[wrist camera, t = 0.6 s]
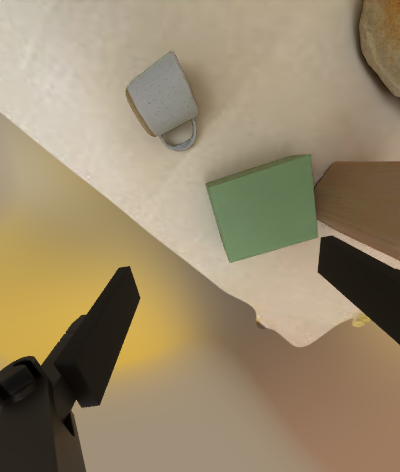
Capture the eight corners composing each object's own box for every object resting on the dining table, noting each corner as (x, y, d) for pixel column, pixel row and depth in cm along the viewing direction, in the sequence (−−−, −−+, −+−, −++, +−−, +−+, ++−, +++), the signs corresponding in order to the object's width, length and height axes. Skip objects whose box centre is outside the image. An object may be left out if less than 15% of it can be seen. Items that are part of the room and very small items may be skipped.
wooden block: (334, 230, 39) (462, 291, 21) (297, 207, 37) (402, 252, 19) (371, 186, 36) (559, 212, 18) (332, 159, 34) (500, 155, 16)
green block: (205, 183, 35) (207, 187, 29) (291, 155, 34) (310, 154, 28) (224, 249, 40) (229, 263, 34) (300, 226, 39) (318, 237, 33)
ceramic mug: (130, 96, 30) (111, 77, 23) (175, 66, 29) (170, 35, 21) (167, 160, 33) (160, 161, 26) (208, 136, 32) (213, 129, 25)
